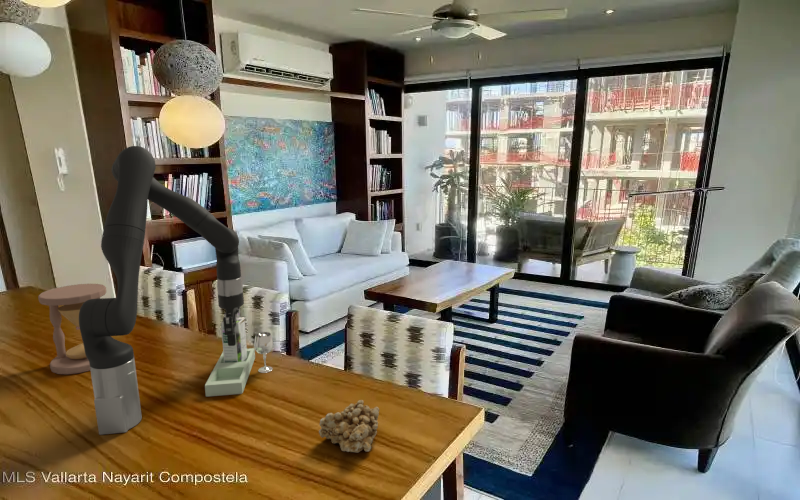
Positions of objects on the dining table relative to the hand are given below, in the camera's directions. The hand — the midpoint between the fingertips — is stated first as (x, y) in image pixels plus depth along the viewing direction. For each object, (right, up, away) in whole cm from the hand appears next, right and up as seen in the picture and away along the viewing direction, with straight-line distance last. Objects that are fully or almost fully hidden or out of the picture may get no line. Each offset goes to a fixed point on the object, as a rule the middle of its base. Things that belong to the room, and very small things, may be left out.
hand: (234, 340), depth 140 cm
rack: (+1, -10, -4) cm, 11 cm away
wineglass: (+10, -9, 0) cm, 14 cm away
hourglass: (-52, -8, +5) cm, 53 cm away
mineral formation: (+43, -17, -35) cm, 58 cm away
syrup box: (0, -7, +1) cm, 7 cm away
